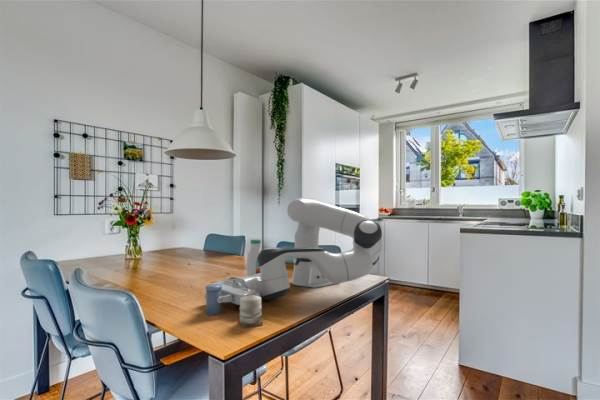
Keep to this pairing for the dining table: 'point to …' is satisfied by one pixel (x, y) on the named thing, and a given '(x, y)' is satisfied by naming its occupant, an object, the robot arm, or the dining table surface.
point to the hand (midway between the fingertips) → (211, 298)
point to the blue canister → (213, 299)
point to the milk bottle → (253, 258)
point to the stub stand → (250, 311)
